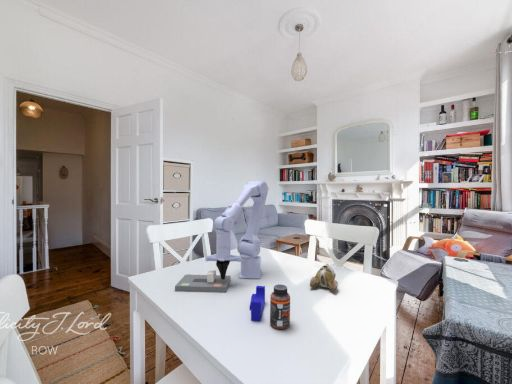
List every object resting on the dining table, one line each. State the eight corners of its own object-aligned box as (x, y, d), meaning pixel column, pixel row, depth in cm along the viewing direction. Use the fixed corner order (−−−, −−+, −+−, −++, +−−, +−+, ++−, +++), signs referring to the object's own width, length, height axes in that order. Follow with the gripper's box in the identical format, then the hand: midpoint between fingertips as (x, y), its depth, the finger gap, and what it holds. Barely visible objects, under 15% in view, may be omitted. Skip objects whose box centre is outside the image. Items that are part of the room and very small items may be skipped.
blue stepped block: (252, 301, 84) (252, 285, 84) (264, 302, 83) (265, 286, 83) (246, 320, 72) (246, 301, 72) (260, 322, 71) (260, 302, 71)
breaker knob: (215, 277, 99) (215, 269, 99) (213, 282, 94) (213, 273, 94) (210, 277, 99) (210, 269, 99) (207, 282, 94) (207, 273, 94)
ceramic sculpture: (340, 261, 102) (336, 275, 88) (340, 281, 102) (336, 297, 89) (315, 258, 106) (308, 271, 93) (315, 277, 107) (308, 292, 93)
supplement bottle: (284, 332, 66) (285, 293, 66) (266, 326, 69) (266, 288, 69) (293, 322, 71) (293, 285, 71) (275, 316, 74) (275, 281, 74)
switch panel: (230, 280, 103) (230, 275, 103) (225, 292, 91) (226, 287, 91) (185, 279, 103) (185, 274, 103) (175, 291, 91) (175, 285, 91)
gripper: (203, 248, 93) (203, 282, 93) (240, 248, 92) (239, 282, 92) (207, 243, 100) (207, 275, 100) (241, 244, 99) (241, 276, 99)
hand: (223, 278), depth 97 cm, fingers closed
